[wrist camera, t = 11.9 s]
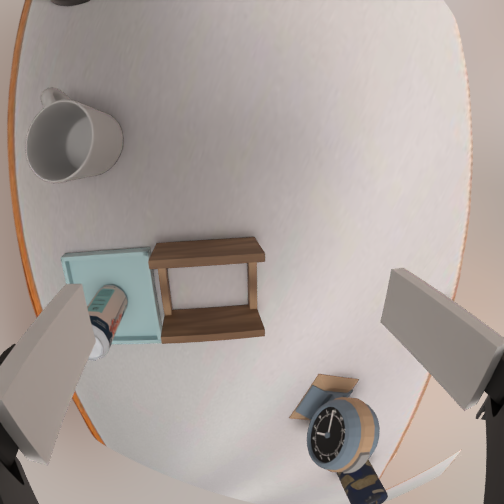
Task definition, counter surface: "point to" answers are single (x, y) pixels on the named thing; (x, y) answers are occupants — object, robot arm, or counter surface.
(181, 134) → the counter surface
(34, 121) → the mug
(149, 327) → the tray
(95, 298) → the beer can
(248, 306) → the cradle
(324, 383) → the alarm clock
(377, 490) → the canister
